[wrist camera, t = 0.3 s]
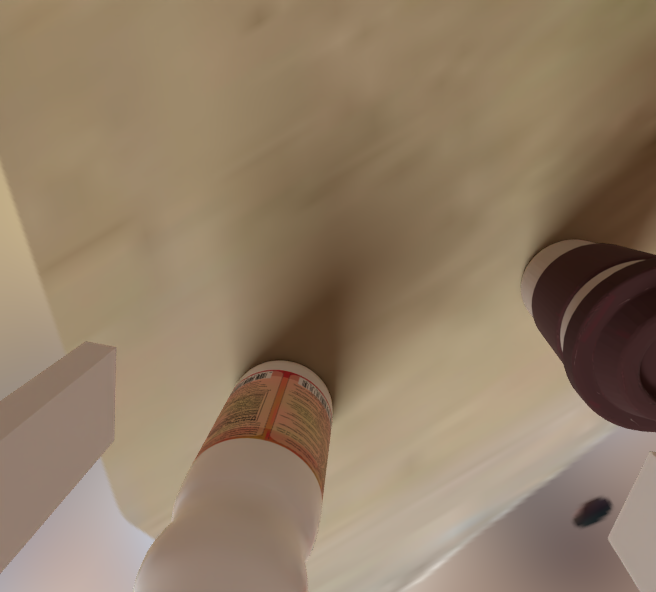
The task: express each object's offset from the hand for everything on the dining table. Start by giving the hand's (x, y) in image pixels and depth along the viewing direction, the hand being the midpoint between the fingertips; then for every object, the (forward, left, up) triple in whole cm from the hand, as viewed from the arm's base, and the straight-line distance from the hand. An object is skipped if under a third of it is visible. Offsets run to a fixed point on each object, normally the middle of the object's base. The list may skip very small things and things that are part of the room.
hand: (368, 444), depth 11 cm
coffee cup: (+1, +17, -27) cm, 32 cm away
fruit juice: (+17, -4, -27) cm, 32 cm away
